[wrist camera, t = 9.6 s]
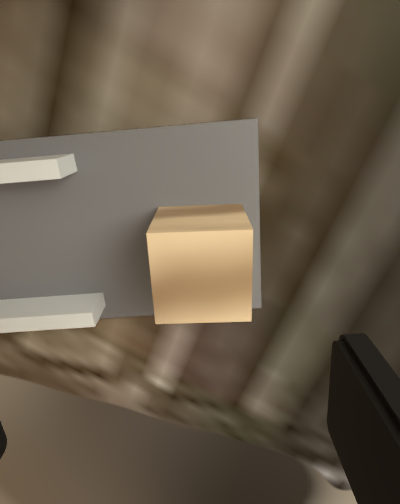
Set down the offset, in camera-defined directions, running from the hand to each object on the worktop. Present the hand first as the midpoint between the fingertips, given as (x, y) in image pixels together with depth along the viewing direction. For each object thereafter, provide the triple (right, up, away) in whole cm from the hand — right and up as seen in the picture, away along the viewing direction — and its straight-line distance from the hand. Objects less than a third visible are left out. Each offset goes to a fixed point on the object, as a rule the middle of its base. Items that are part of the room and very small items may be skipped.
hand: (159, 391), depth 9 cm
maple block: (+1, +4, +12) cm, 13 cm away
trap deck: (-8, +5, +14) cm, 17 cm away
